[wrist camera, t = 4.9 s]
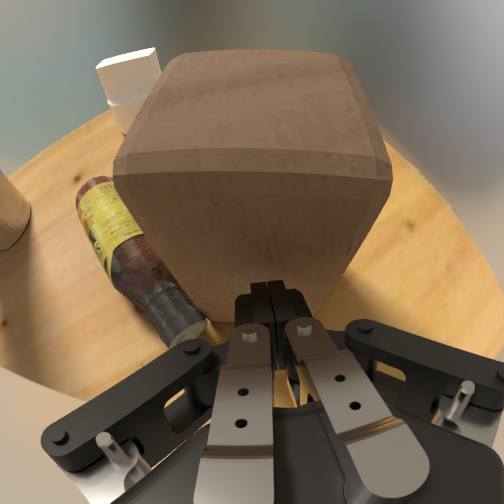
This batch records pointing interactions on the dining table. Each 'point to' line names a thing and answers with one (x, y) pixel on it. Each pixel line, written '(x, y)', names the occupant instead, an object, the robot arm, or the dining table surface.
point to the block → (254, 173)
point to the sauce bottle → (135, 263)
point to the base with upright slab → (128, 83)
